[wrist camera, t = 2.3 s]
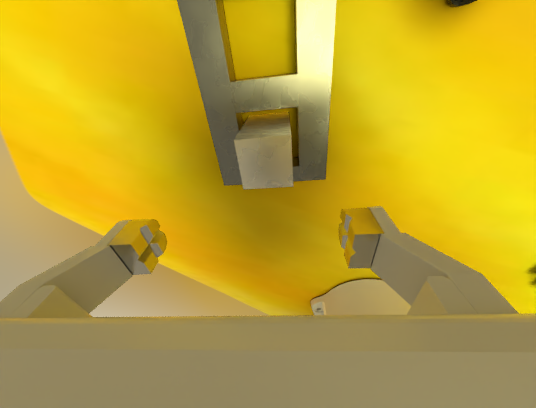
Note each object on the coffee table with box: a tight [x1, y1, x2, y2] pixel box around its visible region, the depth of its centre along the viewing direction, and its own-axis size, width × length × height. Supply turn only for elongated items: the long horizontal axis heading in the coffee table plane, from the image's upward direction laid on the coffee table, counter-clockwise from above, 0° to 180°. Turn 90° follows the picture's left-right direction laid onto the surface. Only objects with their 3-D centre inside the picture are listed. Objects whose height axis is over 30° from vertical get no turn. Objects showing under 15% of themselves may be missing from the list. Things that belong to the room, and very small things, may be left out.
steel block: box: [234, 112, 293, 189], centre depth 19 cm, size 4×4×8 cm
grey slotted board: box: [177, 0, 336, 185], centre depth 16 cm, size 25×11×3 cm, turn 6°
